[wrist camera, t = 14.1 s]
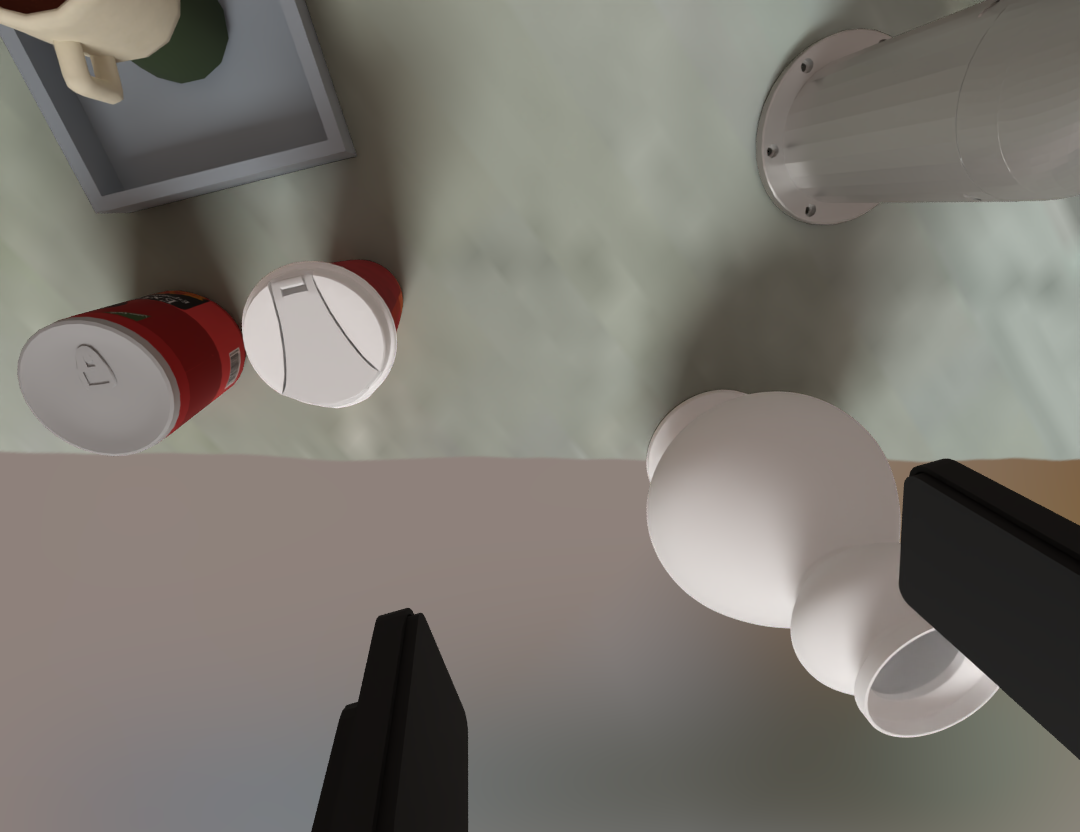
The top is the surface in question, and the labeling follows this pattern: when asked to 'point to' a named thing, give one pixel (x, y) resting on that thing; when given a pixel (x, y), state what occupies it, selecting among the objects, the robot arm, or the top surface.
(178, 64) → the character mug
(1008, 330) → the top surface
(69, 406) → the canned food
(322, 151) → the grey bin
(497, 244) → the top surface
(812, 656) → the decorative vase
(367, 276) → the paper cup
